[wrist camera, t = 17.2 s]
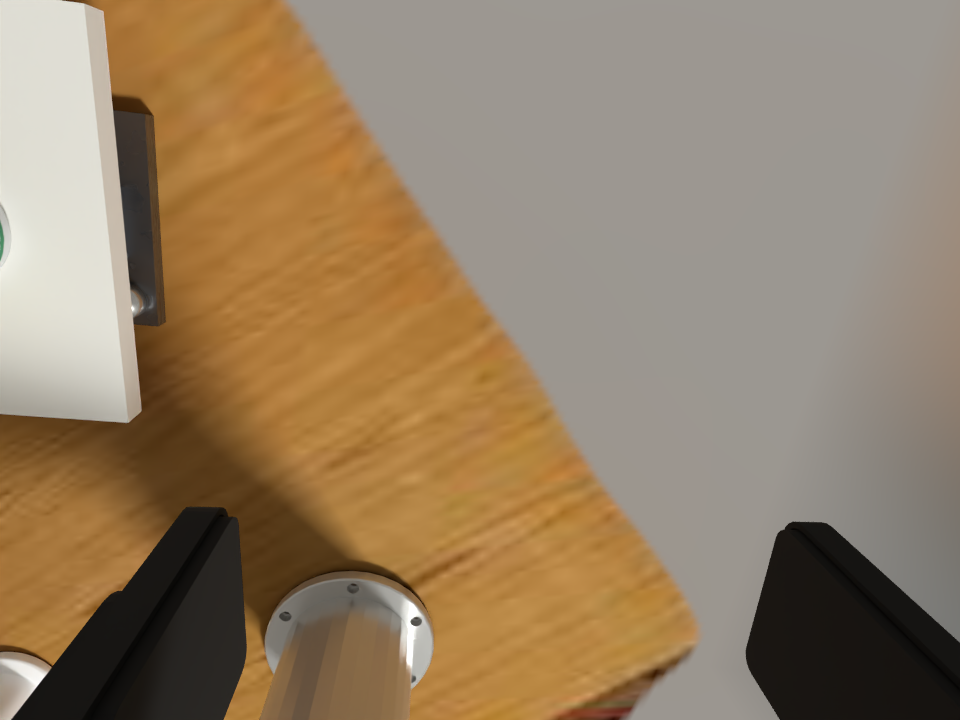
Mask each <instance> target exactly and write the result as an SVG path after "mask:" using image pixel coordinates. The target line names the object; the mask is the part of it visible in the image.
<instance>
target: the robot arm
mask: <svg viewBox="0 0 960 720" xmlns="http://www.w3.org/2000/svg"><path fill="white" fill-rule="evenodd" d="M433 646H434V634H433V627H432V622H431V620H430V617H429V614H428V612H427V610H426V609H425V607H424V606H423V604H422V603H421V601H420V600H419V599H418V598H417V597H416V596H415V595H414V594H413V593H412V592H411V591H410V590H408V589H407V588H405V587H403V586H402V585H400V584H399V583H397V582H395V581H393V580H391V579H388V578H386V577H384V576H380V575H376V574H372V573H368V572H358V571H343V572H333V573H329V574H324V575H320V576H317V577H315V578H312V579H310V580H308V581H305V582H303V583H302V584H300V585H299V586H297V587H296V588H294V589H292V590H291V591H290V592H289V593H288V594H287V595H286V596H285V597H284V598H283V599H282V600H281V601H280V603H279V604H278V606H277V607H276V609H275V610H274V612H273V614H272V617H271V619H270V621H269V624H268V627H267V631H266V635H265V654H266V658H267V662H268V665H269V666H270V668H271V670H272V672H273V674H274V676H273V679H272V682H271V686H270V689H269V692H268V695H267V698H266V701H265V704H264V707H263V710H262V713H261V716H260V719H259V720H409V715H410V697H411V689H412V688H413V687H415V686H416V685H417V684H418V682H419V681H420V680H421V679H422V677H423V676H424V675H425V673H426V671H427V669H428V667H429V665H430V663H431V659H432V654H433ZM246 650H247V644H246V629H245V614H244V599H243V584H242V569H241V554H240V539H239V525H238V520H237V518H236V517H228V515H227V512H226V509H224V508H220V507H186V508H185V509H184V510H183V511H182V512H181V514H180V515H179V516H178V518H177V519H176V520H175V522H174V523H173V524H172V526H171V527H170V528H169V530H168V531H167V532H166V534H165V535H164V536H163V538H162V539H161V540H160V542H159V543H158V544H157V546H156V547H155V548H154V549H153V551H152V552H151V553H150V555H149V556H148V557H147V559H146V560H145V561H144V563H143V564H142V565H141V567H140V568H139V569H138V571H137V572H136V573H135V575H134V576H133V577H132V579H131V580H130V581H129V583H128V584H127V585H126V586H125V588H124V589H123V590H122V591H117V592H114V593H112V594H110V595H109V596H108V597H107V598H106V599H105V600H104V602H103V603H102V604H101V605H100V607H99V608H98V609H97V610H96V612H95V613H94V614H93V615H92V617H91V618H90V619H89V621H88V622H87V623H86V624H85V626H84V627H83V628H82V630H81V631H80V632H79V633H78V635H77V636H76V637H75V638H74V640H73V641H72V642H71V644H70V645H69V646H68V647H67V649H66V650H65V651H64V653H63V654H62V655H61V656H60V658H59V659H58V660H57V662H56V663H55V664H54V665H53V667H52V668H51V669H50V670H49V672H48V673H47V674H46V676H45V677H44V678H43V679H42V681H41V682H40V683H39V685H38V686H37V687H36V688H35V690H34V691H33V692H32V694H31V695H30V696H29V697H28V699H27V700H26V701H25V702H24V704H23V705H22V706H21V708H20V709H19V710H18V711H17V713H16V714H15V715H14V717H13V718H12V719H11V720H223V719H224V717H225V714H226V712H227V709H228V707H229V704H230V702H231V699H232V697H233V694H234V692H235V689H236V687H237V684H238V681H239V679H240V676H241V674H242V671H243V668H244V664H245V659H246ZM746 660H747V665H748V668H749V670H750V672H751V674H752V675H753V677H754V679H755V680H756V682H757V683H758V685H759V687H760V688H761V690H762V692H763V693H764V695H765V696H766V698H767V700H768V701H769V703H770V704H771V706H772V708H773V709H774V711H775V712H776V714H777V716H778V717H779V719H780V720H960V643H959V642H958V641H957V640H956V639H955V638H954V637H953V636H952V635H951V634H950V633H948V632H947V631H946V630H945V629H944V628H943V627H942V626H941V625H940V624H939V623H937V622H936V621H935V620H934V619H933V618H932V617H931V616H930V615H929V614H927V613H926V612H925V611H924V610H923V609H922V608H921V607H920V606H919V605H917V604H916V603H915V602H914V601H913V600H912V599H911V598H910V597H909V596H908V595H906V594H905V593H904V592H903V591H902V590H901V589H900V588H899V587H898V586H897V585H895V584H894V583H893V582H892V581H891V580H890V579H889V578H888V577H887V576H886V575H884V574H883V573H882V572H881V571H880V570H879V569H878V568H877V567H876V566H874V565H873V564H872V563H871V562H870V561H869V560H868V559H867V558H866V557H865V556H863V555H862V554H861V553H860V552H859V551H858V550H857V549H856V548H854V547H853V546H852V545H851V544H850V543H849V542H848V541H847V540H846V539H845V538H843V537H842V536H841V535H840V534H839V533H838V532H837V531H836V530H835V529H834V528H832V527H831V526H830V525H828V524H827V523H822V522H791V523H789V524H788V525H787V526H786V527H785V530H782V531H780V532H779V533H778V534H777V537H776V540H775V543H774V547H773V551H772V554H771V558H770V562H769V566H768V569H767V573H766V577H765V581H764V584H763V588H762V591H761V595H760V599H759V603H758V606H757V610H756V614H755V617H754V621H753V625H752V628H751V632H750V636H749V640H748V643H747V647H746Z"/></svg>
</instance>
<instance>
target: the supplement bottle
mask: <svg viewBox="0 0 960 720" xmlns="http://www.w3.org/2000/svg"><path fill="white" fill-rule="evenodd" d="M10 249H11V231H10V226H9V223H8V220H7V218H6V215H5V213H4V211H3V210H2V208H1V206H0V268H1V267H2V266H3V264H4V263H5V261H6V259H7V257H8V255H9V252H10Z"/></svg>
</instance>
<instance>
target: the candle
mask: <svg viewBox="0 0 960 720" xmlns="http://www.w3.org/2000/svg"><path fill="white" fill-rule="evenodd" d="M51 668H52V667H51V666H50V665H48V664H47V663H45V662H44V661H42V660H40V659H38V658H36V657H33V656H31V655H28V654H24V653H18V652H0V720H11V719H12V718H13V717H14V715H15V714H16V713H17V711H18V710H19V709H20V708H21V706H22V705H23V704H24V702H25V701H26V700H27V699H28V697H29V696H30V695H31V694H32V692H33V691H34V690H35V688H36V687H37V686H38V685H39V683H40V682H41V681H42V679H43V678H44V677H45V676H46V674H47V673H48V672H49V670H50V669H51Z"/></svg>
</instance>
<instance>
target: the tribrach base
mask: <svg viewBox="0 0 960 720" xmlns="http://www.w3.org/2000/svg"><path fill="white" fill-rule="evenodd" d="M113 116H114V127H115V137H116V147H117V158H118V168H119V179H120V189H121V200H122V210H123V220H124V231H125V241H126V252H127V262H128V273H129V283H130V293H131V304H132V314H133V324H137V325H149V326H160V325H161V324H163V323H165V322H166V320H165V304H164V287H163V270H162V253H161V236H160V219H159V202H158V185H157V169H156V152H155V135H154V118H153V116H152V115H147V114H140V113H132V112H124V111H115V110H113Z"/></svg>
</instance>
